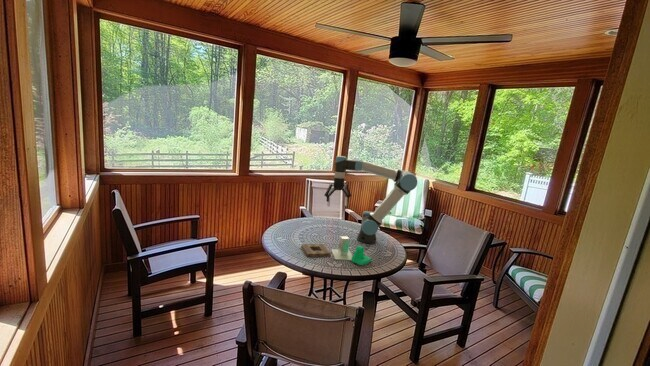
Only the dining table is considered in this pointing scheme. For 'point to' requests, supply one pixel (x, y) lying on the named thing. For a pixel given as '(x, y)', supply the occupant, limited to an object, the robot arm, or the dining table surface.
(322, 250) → the walnut socket
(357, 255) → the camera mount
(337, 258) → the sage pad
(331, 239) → the dining table surface
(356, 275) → the dining table surface
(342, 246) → the aluminium post
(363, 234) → the robot arm
